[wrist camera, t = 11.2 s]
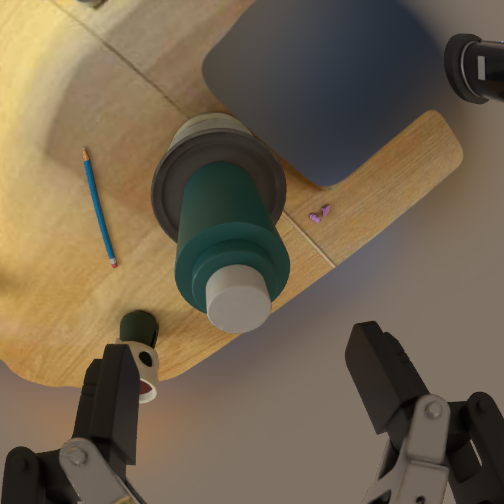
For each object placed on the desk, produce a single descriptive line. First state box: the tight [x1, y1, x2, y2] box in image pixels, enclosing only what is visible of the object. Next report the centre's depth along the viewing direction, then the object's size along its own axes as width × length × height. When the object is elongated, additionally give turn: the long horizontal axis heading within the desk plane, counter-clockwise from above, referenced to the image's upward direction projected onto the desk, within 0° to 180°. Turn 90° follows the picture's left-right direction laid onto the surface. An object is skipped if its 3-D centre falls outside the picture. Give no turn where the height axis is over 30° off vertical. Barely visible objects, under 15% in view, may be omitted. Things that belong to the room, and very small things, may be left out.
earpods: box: [309, 205, 330, 223], centre depth 40 cm, size 3×2×2 cm
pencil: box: [84, 148, 117, 268], centre depth 35 cm, size 1×17×1 cm, turn 3°
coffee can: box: [151, 113, 287, 243], centre depth 29 cm, size 10×10×14 cm
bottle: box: [175, 162, 290, 333], centre depth 17 cm, size 5×5×12 cm
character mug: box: [113, 312, 159, 403], centre depth 41 cm, size 11×7×13 cm, turn 12°
